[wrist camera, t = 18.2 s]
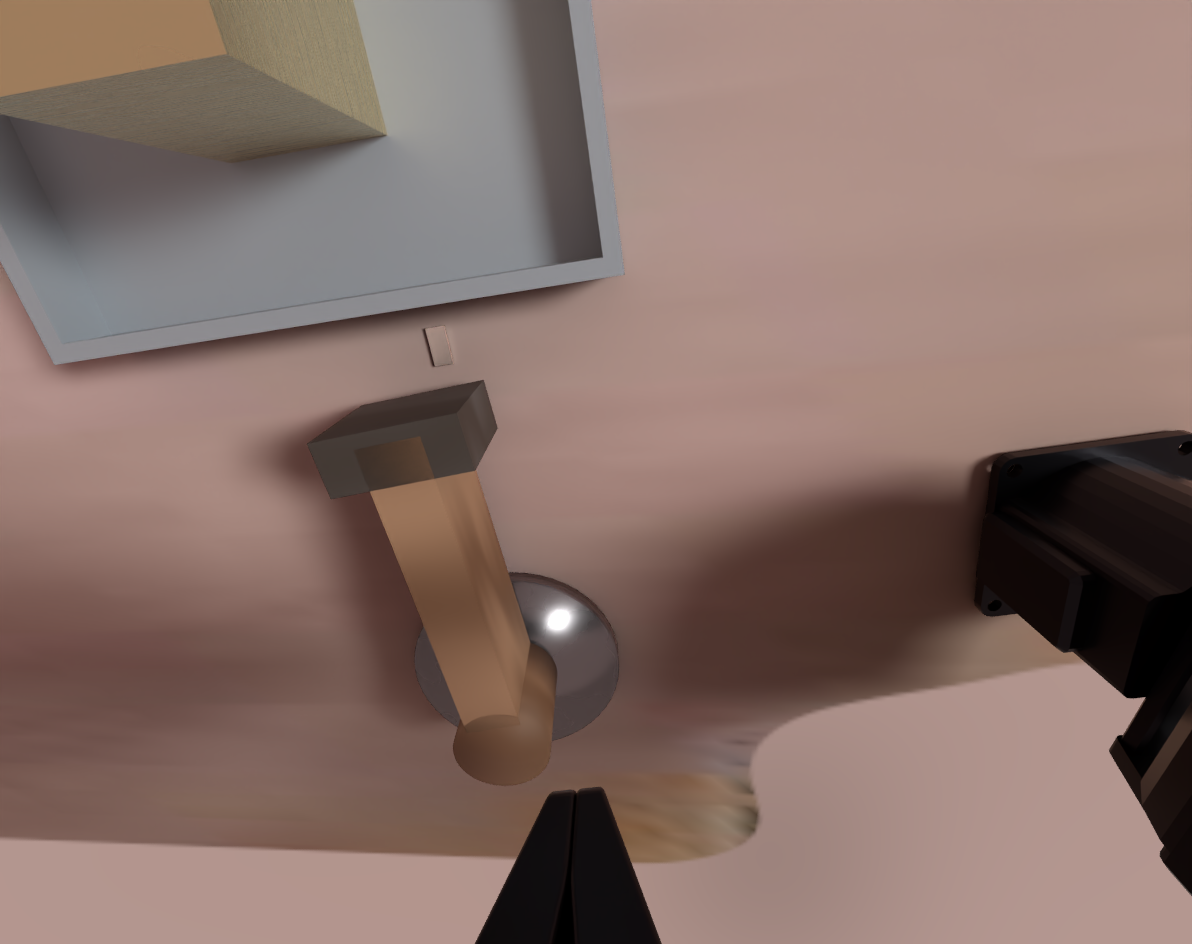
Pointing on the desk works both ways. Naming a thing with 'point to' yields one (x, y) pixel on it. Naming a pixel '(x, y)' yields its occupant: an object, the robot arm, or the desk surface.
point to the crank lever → (452, 567)
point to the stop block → (192, 73)
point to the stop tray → (331, 195)
